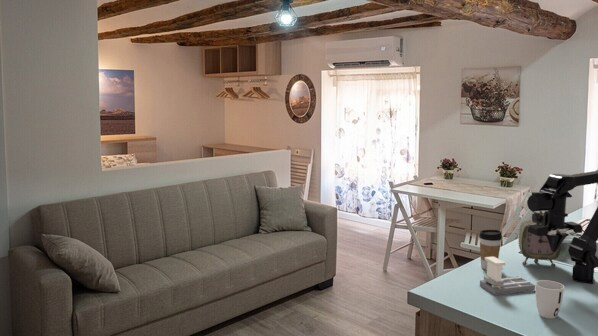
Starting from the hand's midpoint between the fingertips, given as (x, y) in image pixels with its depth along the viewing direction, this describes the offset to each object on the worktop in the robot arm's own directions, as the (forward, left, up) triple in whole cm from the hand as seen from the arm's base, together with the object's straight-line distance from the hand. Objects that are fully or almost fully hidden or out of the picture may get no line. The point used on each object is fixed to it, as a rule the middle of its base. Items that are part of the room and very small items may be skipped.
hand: (553, 251), depth 189 cm
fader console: (+13, +13, -12) cm, 22 cm away
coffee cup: (+23, -6, -12) cm, 27 cm away
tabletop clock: (+7, -20, -12) cm, 24 cm away
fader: (+17, +17, -9) cm, 26 cm away
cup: (-2, +30, -12) cm, 32 cm away
